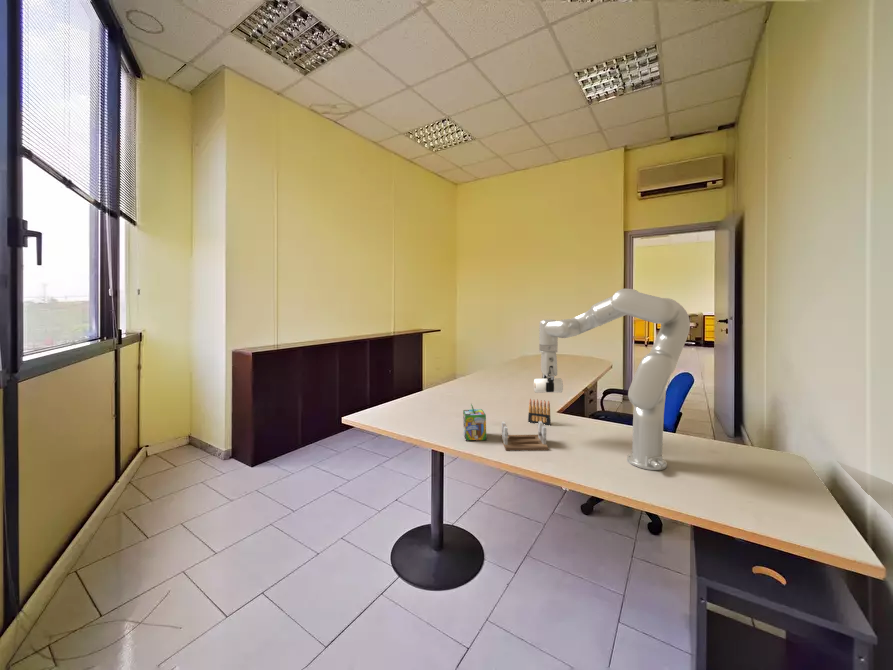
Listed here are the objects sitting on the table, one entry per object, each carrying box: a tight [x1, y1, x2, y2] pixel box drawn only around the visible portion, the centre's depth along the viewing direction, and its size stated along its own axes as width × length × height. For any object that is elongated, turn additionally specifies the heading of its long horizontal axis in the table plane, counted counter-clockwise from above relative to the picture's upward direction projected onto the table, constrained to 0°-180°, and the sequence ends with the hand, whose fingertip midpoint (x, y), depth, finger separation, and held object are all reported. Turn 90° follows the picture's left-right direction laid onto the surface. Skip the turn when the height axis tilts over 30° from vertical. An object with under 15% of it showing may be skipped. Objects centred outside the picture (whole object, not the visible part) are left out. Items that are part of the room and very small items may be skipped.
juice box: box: [462, 403, 487, 441], centre depth 155 cm, size 9×9×15 cm
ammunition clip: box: [527, 398, 552, 426], centre depth 172 cm, size 11×2×12 cm, turn 62°
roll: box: [533, 377, 564, 394], centre depth 151 cm, size 6×11×6 cm, turn 88°
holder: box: [500, 421, 549, 452], centre depth 147 cm, size 14×17×8 cm
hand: (547, 389), depth 151 cm, fingers closed on roll, 6 cm apart
